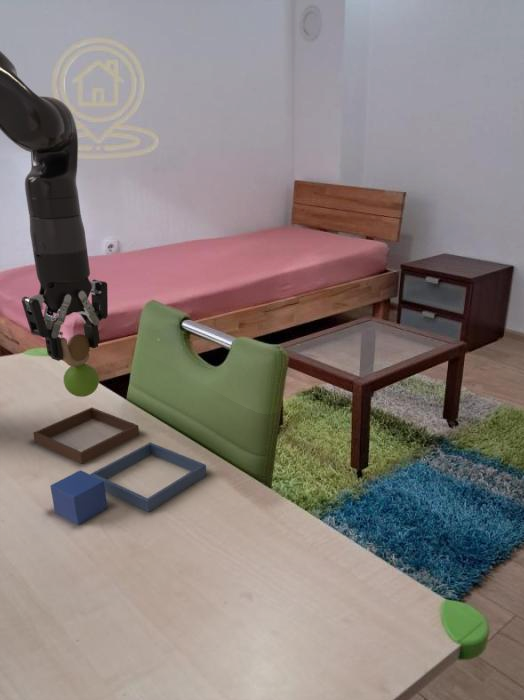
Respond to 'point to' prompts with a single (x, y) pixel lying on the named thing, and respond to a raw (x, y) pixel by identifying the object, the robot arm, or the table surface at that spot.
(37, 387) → the table surface
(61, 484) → the blue block
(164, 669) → the table surface
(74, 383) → the snail figurine
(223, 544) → the table surface
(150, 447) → the blue tray
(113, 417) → the brown tray
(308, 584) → the table surface
